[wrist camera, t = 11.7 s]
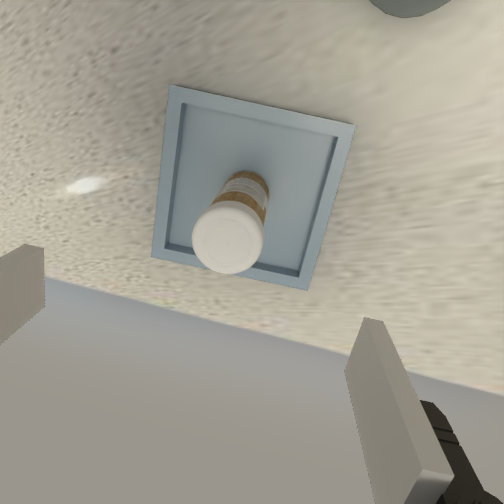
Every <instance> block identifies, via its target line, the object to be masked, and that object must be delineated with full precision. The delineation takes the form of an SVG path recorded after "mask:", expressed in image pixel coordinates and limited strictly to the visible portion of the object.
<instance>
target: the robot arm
mask: <svg viewBox="0 0 504 504" xmlns="http://www.w3.org/2000/svg"><path fill="white" fill-rule="evenodd" d="M44 307H45V285H44V248H41V247H37V246H32V245H27V244H24V245H22V246H20V247H19V248H17V249H15V250H13V251H11V252H10V253H8V254H6V255H4V256H2V257H0V345H1V344H2V343H3V342H4V341H5V340H7V339H8V338H9V337H10V336H11V335H12V334H13V333H15V332H16V331H17V330H18V329H19V328H20V327H22V326H23V325H24V324H25V323H26V322H27V321H29V320H30V319H31V318H32V317H33V316H34V315H36V314H37V313H38V312H39V311H40V310H41V309H43V308H44ZM344 372H345V376H346V381H347V385H348V389H349V393H350V398H351V402H352V406H353V411H354V415H355V419H356V424H357V428H358V432H359V436H360V440H361V445H362V449H363V454H364V458H365V462H366V467H367V471H368V475H369V479H370V484H371V488H372V492H373V497H374V501H375V504H503V503H502V502H501V501H500V500H499V499H497V498H496V497H495V496H493V495H491V494H489V493H488V492H486V491H484V489H483V487H482V485H481V483H480V481H479V480H478V478H477V476H476V474H475V472H474V470H473V468H472V466H471V464H470V462H469V460H468V458H467V457H466V455H465V453H464V451H463V449H462V447H461V446H459V442H458V439H457V438H456V436H455V434H453V430H452V428H451V426H450V424H449V422H448V420H447V418H446V416H445V415H444V414H442V412H441V411H440V410H439V409H438V408H437V407H436V406H435V405H434V403H431V402H427V401H422V400H419V398H418V396H417V394H416V392H415V389H414V387H413V386H412V383H411V381H410V379H409V376H408V374H407V372H406V370H405V368H404V366H403V363H402V361H401V359H400V357H399V355H398V353H397V351H396V348H395V346H394V344H393V342H392V340H391V338H390V335H389V333H388V331H387V329H386V327H385V325H384V322H383V321H379V320H375V319H370V318H365V317H364V320H363V322H362V325H361V328H360V330H359V333H358V336H357V338H356V341H355V343H354V346H353V349H352V351H351V354H350V357H349V360H348V362H347V365H346V367H345V370H344Z"/></svg>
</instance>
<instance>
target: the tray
mask: <svg viewBox="0 0 504 504" xmlns="http://www.w3.org/2000/svg"><path fill="white" fill-rule="evenodd" d="M356 126H357V125H353V124H349V123H344V122H340V121H335V120H330V119H326V118H321V117H317V116H312V115H308V114H303V113H299V112H294V111H289V110H285V109H280V108H276V107H271V106H267V105H262V104H258V103H253V102H248V101H244V100H239V99H235V98H230V97H226V96H221V95H217V94H212V93H207V92H203V91H198V90H194V89H189V88H185V87H180V86H175V85H170V84H169V92H168V102H167V111H166V121H165V130H164V139H163V149H162V158H161V168H160V177H159V187H158V196H157V206H156V215H155V225H154V234H153V244H152V253H151V257H153V258H158V259H163V260H167V261H172V262H176V263H181V264H186V265H190V266H195V267H200V268H204V269H209V268H208V267H206V266H205V265H204V264H203V263H202V262H201V261H200V260H199V259H198V258H197V256H196V254H195V252H194V250H193V246H192V231H193V228H194V225H195V223H196V222H197V220H198V218H199V217H200V215H201V214H202V213H203V211H204V210H205V209H206V208H208V207H209V206H210V204H211V203H212V201H213V200H214V199H215V197H216V196H217V195H218V193H219V192H220V190H221V189H222V188H223V186H224V184H225V183H226V181H227V180H228V178H229V177H230V176H232V175H233V174H235V173H237V172H240V171H251V172H254V173H256V174H258V175H260V176H261V177H262V178H263V179H264V180H265V182H266V184H267V186H268V189H269V201H268V206H267V213H266V218H265V222H264V226H263V228H264V242H263V247H262V251H261V254H260V256H259V258H258V259H257V261H256V262H255V263H254V264H253V265H252V266H251V267H250V268H248V269H247V270H245V271H242V272H239V273H235V274H232V275H237V276H241V277H246V278H250V279H255V280H260V281H264V282H269V283H274V284H278V285H283V286H288V287H292V288H297V289H301V290H306V291H308V288H309V285H310V281H311V278H312V274H313V271H314V268H315V264H316V261H317V258H318V254H319V251H320V247H321V244H322V241H323V237H324V234H325V231H326V227H327V224H328V220H329V217H330V214H331V210H332V207H333V203H334V200H335V197H336V193H337V190H338V187H339V183H340V180H341V176H342V173H343V170H344V166H345V163H346V160H347V156H348V153H349V149H350V146H351V143H352V139H353V136H354V132H355V129H356ZM209 270H211V269H209Z"/></svg>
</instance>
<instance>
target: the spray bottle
mask: <svg viewBox="0 0 504 504" xmlns="http://www.w3.org/2000/svg"><path fill="white" fill-rule="evenodd" d="M370 1H371V2H372V3H373V4H374V5H375V6H377V7H378V8H379V9H381V10H382V11H383V12H385V13H386V14H390V15H393V16H397V17H401V18H407V17H417V16H422V15H424V14H426V13H429V12H431V11H433V10H435V9H437V8H439V7H441V6H443V5H444V4H446V3H447V2H449V1H451V0H370Z"/></svg>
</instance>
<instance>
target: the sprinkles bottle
mask: <svg viewBox="0 0 504 504" xmlns="http://www.w3.org/2000/svg"><path fill="white" fill-rule="evenodd" d="M268 201H269V189H268V186H267V184H266V182H265V180H264V179H263V178H262V177H261V176H260V175H258V174H256V173H254V172H251V171H240V172H237V173H235V174H233V175H232V176H230V177H229V178H228V180H227V181H226V183H225V184H224V186H223V188H222V189H221V190H220V192H219V193H218V195H217V196H216V197H215V199H214V200H213V201H212V203H211V204H210V206H209V207H208V208H206V209H205V210H204V211H203V213H202V214H201V215H200V217H199V218H198V220H197V222H196V223H195V225H194V228H193V231H192V246H193V250H194V252H195V254H196V256H197V258H198V259H199V260H200V261H201V262H202V263H203V264H204V265H205V266H206V267H208V268H209V269H211V270H213V271H215V272H218V273H222V274H235V273H239V272H242V271H245V270H247V269H248V268H250V267H251V266H252V265H253V264H254V263H255V262H256V261H257V259H258V258H259V256H260V254H261V251H262V247H263V242H264V228H263V226H264V222H265V218H266V213H267V206H268Z"/></svg>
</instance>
